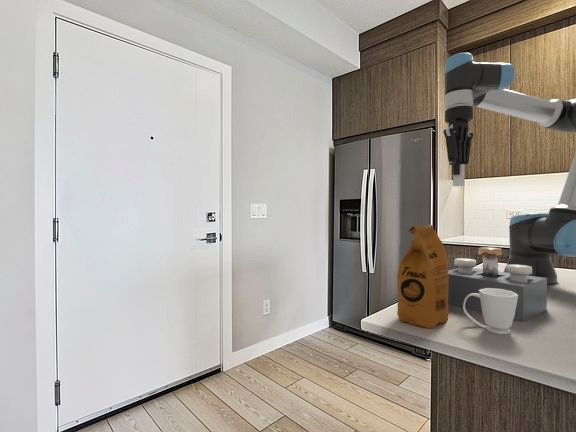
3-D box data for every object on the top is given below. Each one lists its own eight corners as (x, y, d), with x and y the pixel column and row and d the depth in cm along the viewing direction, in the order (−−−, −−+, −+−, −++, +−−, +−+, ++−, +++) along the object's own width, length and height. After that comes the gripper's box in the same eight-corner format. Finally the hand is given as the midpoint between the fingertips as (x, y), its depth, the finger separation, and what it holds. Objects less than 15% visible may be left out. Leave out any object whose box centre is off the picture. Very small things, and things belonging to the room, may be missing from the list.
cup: (517, 339, 63) (517, 298, 63) (460, 328, 69) (460, 290, 69) (518, 328, 69) (519, 290, 68) (466, 319, 75) (466, 284, 75)
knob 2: (511, 296, 83) (511, 263, 83) (535, 301, 79) (535, 266, 79) (502, 299, 80) (502, 266, 80) (526, 304, 76) (526, 269, 76)
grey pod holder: (465, 293, 97) (465, 266, 97) (546, 309, 81) (546, 278, 80) (439, 301, 89) (439, 272, 89) (523, 321, 73) (523, 286, 72)
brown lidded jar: (484, 277, 88) (484, 246, 88) (505, 281, 84) (505, 248, 84) (475, 280, 85) (475, 248, 85) (496, 284, 81) (496, 250, 81)
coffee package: (389, 320, 75) (389, 225, 74) (414, 308, 83) (414, 223, 83) (433, 332, 67) (433, 227, 67) (455, 317, 76) (455, 224, 75)
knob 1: (460, 286, 94) (460, 257, 94) (479, 290, 89) (479, 260, 89) (451, 289, 91) (451, 259, 91) (470, 293, 87) (470, 261, 86)
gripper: (457, 114, 104) (457, 187, 105) (434, 108, 97) (434, 186, 97) (482, 108, 98) (482, 186, 99) (459, 100, 91) (459, 184, 91)
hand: (458, 186), depth 98 cm, fingers closed
